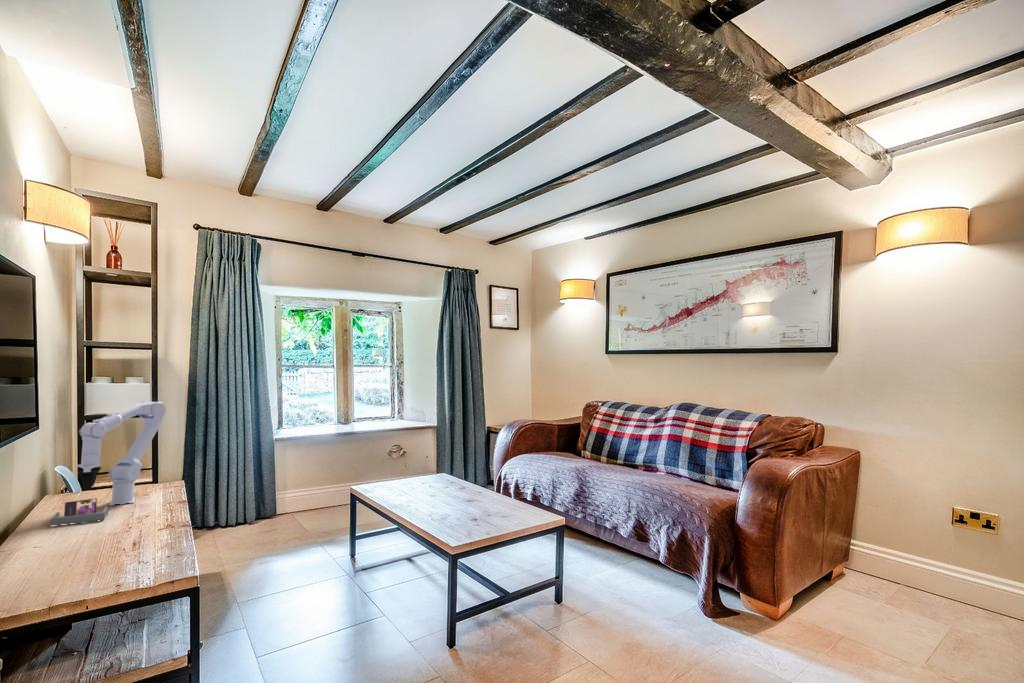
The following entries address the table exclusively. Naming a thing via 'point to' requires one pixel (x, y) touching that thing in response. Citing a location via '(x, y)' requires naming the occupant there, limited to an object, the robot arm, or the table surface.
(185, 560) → the table surface
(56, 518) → the holder
